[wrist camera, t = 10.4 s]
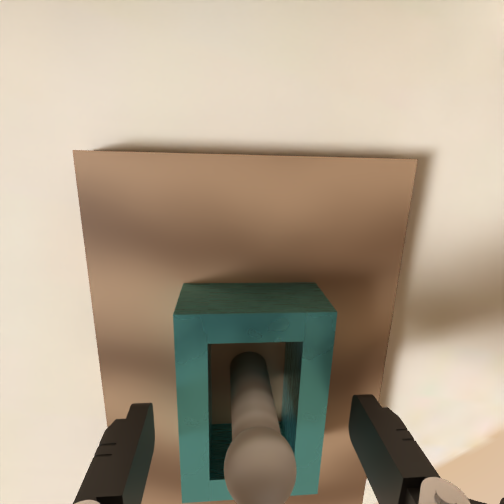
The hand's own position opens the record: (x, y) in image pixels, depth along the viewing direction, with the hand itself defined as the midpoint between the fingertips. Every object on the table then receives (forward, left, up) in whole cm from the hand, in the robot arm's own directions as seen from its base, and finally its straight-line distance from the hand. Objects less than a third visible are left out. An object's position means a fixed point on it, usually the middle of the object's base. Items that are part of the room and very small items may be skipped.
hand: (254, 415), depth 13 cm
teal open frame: (0, 0, -3) cm, 3 cm away
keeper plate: (0, 0, -5) cm, 5 cm away
